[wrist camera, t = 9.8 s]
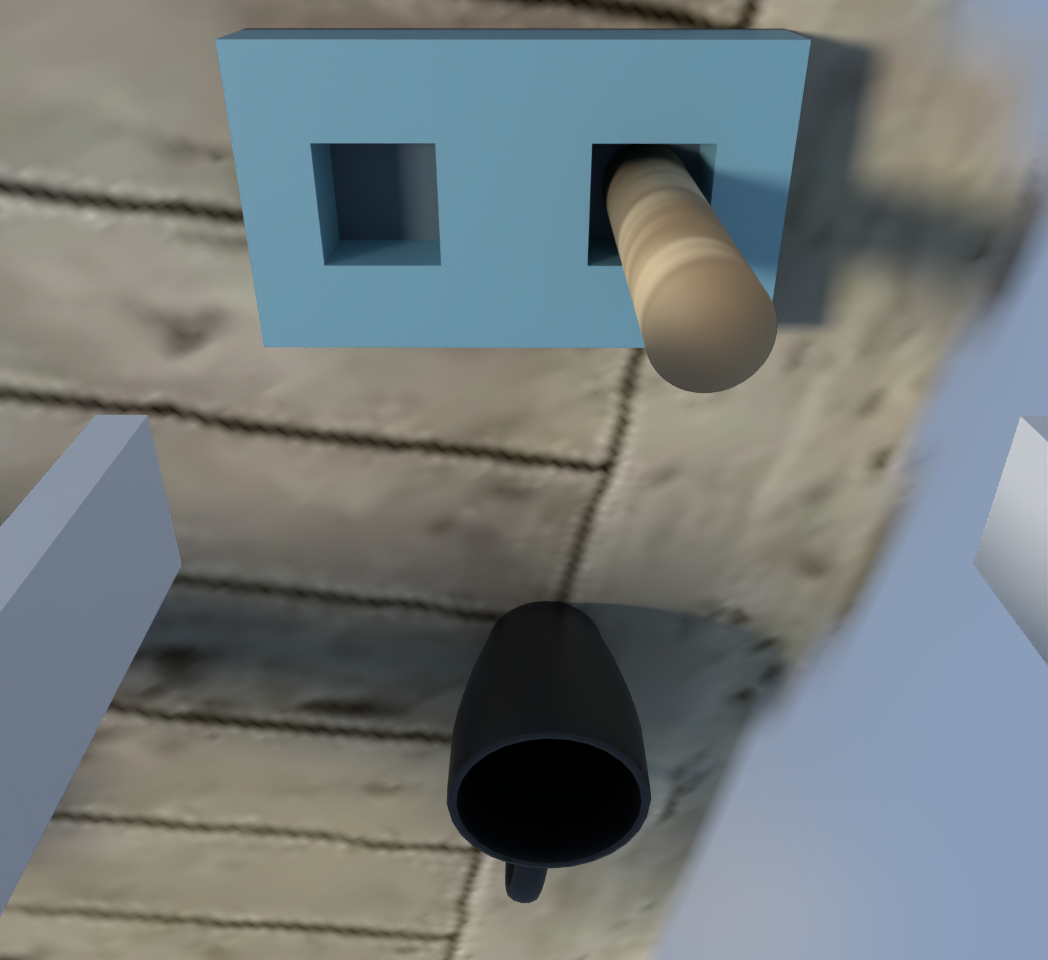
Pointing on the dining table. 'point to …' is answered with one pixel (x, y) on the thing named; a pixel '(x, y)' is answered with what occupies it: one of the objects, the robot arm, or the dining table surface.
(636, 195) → the dowel
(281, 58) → the bore slab
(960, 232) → the dining table surface
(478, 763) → the mug
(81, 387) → the dining table surface
